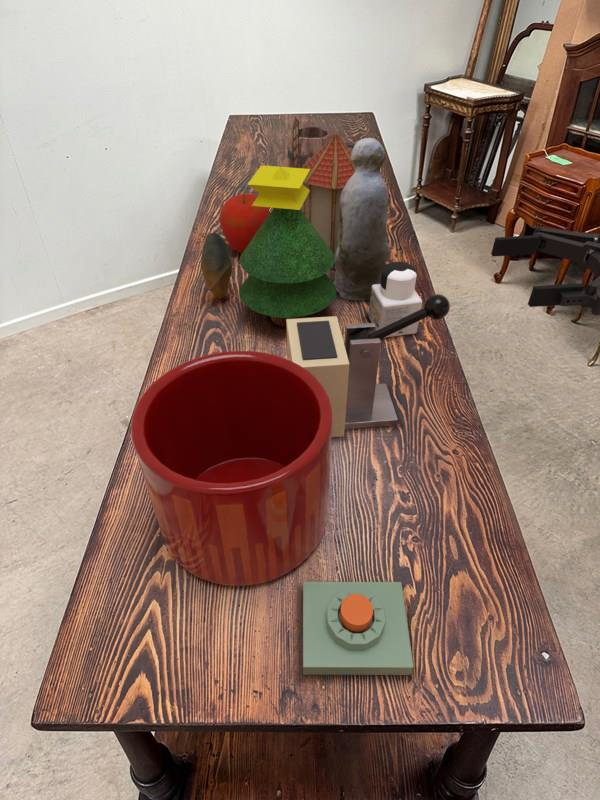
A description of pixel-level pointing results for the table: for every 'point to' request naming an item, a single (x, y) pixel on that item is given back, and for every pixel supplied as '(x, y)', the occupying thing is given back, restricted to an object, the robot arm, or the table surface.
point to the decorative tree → (285, 251)
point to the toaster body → (322, 360)
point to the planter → (236, 464)
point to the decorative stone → (216, 265)
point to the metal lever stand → (366, 383)
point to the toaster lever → (411, 318)
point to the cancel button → (356, 613)
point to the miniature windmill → (325, 184)
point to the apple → (241, 220)
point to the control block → (355, 651)
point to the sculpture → (362, 224)
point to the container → (395, 297)
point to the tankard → (309, 145)
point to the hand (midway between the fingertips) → (511, 270)
